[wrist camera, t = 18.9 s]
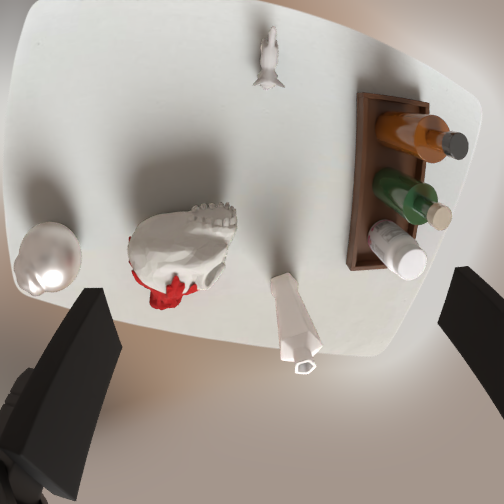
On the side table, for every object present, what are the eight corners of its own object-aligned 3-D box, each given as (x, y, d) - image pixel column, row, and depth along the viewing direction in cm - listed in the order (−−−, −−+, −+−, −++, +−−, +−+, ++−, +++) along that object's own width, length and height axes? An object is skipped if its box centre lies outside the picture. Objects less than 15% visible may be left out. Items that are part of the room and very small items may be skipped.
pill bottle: (390, 254, 40) (419, 286, 32) (361, 248, 39) (388, 280, 32) (402, 223, 38) (436, 250, 30) (374, 214, 37) (405, 241, 30)
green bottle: (373, 166, 34) (427, 194, 24) (405, 167, 35) (463, 195, 24) (370, 202, 36) (419, 242, 26) (401, 202, 37) (455, 240, 26)
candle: (241, 196, 35) (211, 293, 43) (146, 173, 33) (133, 274, 41) (241, 235, 28) (206, 342, 35) (119, 206, 26) (114, 320, 33)
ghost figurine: (30, 217, 35) (-12, 248, 26) (82, 207, 35) (43, 239, 26) (48, 274, 39) (15, 313, 30) (99, 270, 39) (70, 313, 30)
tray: (356, 92, 31) (363, 92, 29) (421, 102, 31) (429, 103, 30) (345, 263, 41) (350, 271, 39) (403, 260, 41) (409, 266, 39)
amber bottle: (375, 108, 31) (440, 114, 20) (408, 113, 32) (479, 123, 20) (373, 147, 33) (436, 171, 22) (407, 150, 34) (474, 175, 22)
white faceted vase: (273, 304, 43) (289, 388, 29) (262, 279, 41) (276, 362, 27) (304, 293, 42) (332, 373, 29) (295, 267, 40) (323, 346, 27)
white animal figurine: (250, 73, 32) (251, 100, 29) (255, 14, 24) (257, 33, 22) (278, 74, 32) (282, 102, 29) (287, 16, 25) (293, 37, 22)
